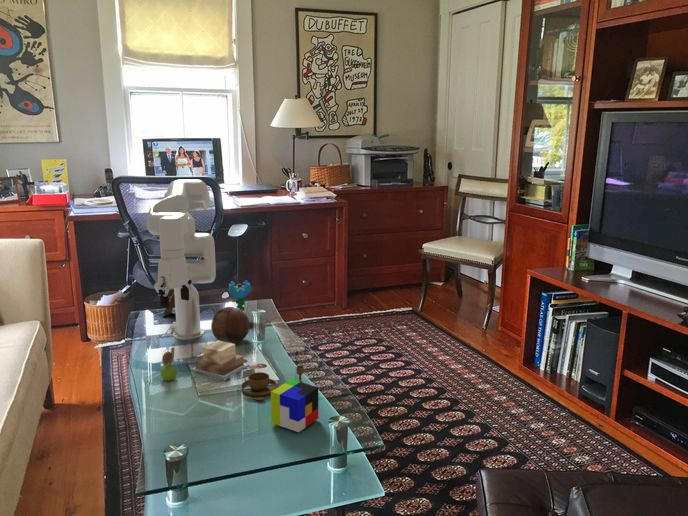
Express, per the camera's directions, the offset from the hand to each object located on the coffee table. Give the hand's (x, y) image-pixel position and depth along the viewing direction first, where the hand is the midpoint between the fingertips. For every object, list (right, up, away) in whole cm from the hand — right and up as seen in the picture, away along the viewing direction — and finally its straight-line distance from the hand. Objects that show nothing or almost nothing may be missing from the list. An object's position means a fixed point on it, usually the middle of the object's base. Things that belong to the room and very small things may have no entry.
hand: (175, 303), depth 195 cm
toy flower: (+10, -13, +65) cm, 68 cm away
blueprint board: (+12, -25, +14) cm, 31 cm away
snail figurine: (-3, -27, +5) cm, 27 cm away
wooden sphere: (+11, -19, +39) cm, 45 cm away
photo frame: (-18, -12, +71) cm, 74 cm away
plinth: (+12, -24, +14) cm, 30 cm away
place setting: (+32, -29, -1) cm, 44 cm away
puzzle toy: (+42, -33, -22) cm, 58 cm away
